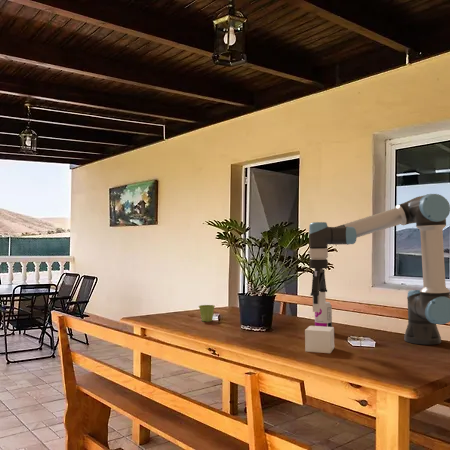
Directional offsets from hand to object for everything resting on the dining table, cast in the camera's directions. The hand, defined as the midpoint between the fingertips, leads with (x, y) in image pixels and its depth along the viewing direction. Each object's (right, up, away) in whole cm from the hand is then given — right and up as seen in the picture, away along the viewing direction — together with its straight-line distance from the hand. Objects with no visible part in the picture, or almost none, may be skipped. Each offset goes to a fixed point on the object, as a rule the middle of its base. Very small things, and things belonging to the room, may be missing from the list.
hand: (319, 309), depth 197 cm
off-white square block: (0, -17, 0) cm, 17 cm away
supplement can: (+9, -18, +35) cm, 40 cm away
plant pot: (-50, -20, +73) cm, 90 cm away
